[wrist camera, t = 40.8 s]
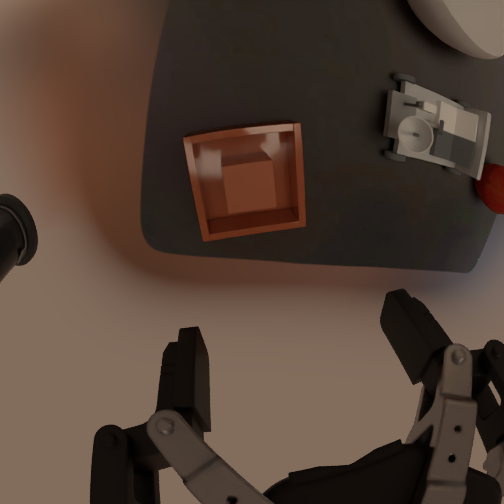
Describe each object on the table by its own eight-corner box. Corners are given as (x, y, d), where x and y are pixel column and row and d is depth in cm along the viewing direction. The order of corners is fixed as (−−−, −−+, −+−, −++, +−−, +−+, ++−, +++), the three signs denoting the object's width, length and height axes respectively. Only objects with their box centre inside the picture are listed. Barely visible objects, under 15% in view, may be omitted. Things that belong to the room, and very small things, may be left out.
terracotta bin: (205, 224, 34) (203, 242, 30) (187, 133, 28) (182, 137, 24) (295, 211, 35) (306, 226, 31) (289, 119, 29) (301, 122, 25)
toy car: (407, 172, 23) (420, 62, 17) (362, 151, 31) (371, 67, 26) (495, 194, 25) (509, 115, 19) (452, 171, 34) (462, 104, 28)
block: (227, 198, 32) (228, 214, 28) (220, 157, 30) (220, 167, 25) (268, 191, 32) (277, 207, 28) (264, 151, 30) (272, 159, 26)
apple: (481, 206, 38) (519, 232, 28) (462, 189, 35) (506, 216, 26) (496, 170, 34) (536, 191, 25) (478, 149, 32) (524, 169, 23)
